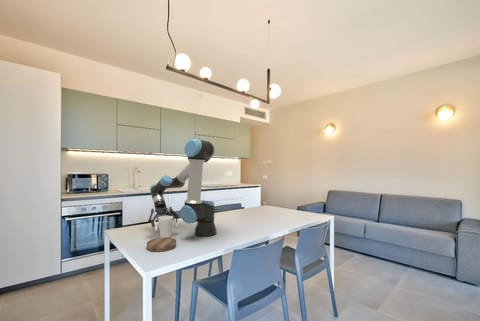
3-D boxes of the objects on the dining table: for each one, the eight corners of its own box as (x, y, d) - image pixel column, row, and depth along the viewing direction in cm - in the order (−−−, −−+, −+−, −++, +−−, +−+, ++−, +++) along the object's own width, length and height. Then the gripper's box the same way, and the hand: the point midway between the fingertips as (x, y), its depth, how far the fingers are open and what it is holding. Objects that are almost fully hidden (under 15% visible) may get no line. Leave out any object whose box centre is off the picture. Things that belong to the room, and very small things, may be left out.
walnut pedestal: (180, 243, 136) (180, 238, 136) (169, 252, 120) (169, 247, 120) (155, 241, 138) (155, 236, 138) (141, 251, 122) (141, 245, 122)
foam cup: (158, 239, 141) (158, 219, 142) (157, 235, 150) (157, 216, 150) (173, 238, 145) (174, 218, 146) (171, 234, 154) (172, 215, 154)
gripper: (174, 204, 168) (182, 229, 156) (139, 207, 152) (145, 235, 140) (177, 198, 164) (186, 223, 152) (142, 201, 148) (148, 228, 136)
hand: (166, 229), depth 146 cm, fingers open, 13 cm apart
